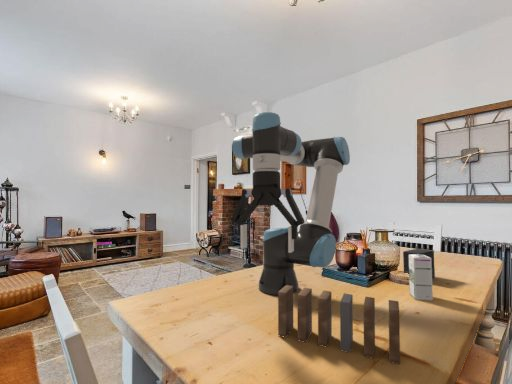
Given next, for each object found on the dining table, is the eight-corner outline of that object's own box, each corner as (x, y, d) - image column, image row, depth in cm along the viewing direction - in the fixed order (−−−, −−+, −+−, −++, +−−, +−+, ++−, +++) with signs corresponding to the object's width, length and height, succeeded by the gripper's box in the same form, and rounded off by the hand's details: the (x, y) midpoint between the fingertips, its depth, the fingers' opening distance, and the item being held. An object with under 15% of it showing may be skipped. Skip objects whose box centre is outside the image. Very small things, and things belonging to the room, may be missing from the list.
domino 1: (278, 336, 69) (278, 291, 69) (286, 326, 74) (286, 285, 74) (285, 337, 68) (285, 292, 68) (293, 327, 73) (293, 286, 73)
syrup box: (433, 301, 92) (432, 257, 93) (414, 299, 94) (413, 257, 94) (426, 295, 98) (426, 254, 98) (408, 294, 99) (408, 253, 100)
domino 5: (363, 356, 60) (363, 305, 60) (365, 343, 65) (365, 296, 66) (373, 358, 59) (373, 306, 59) (375, 345, 64) (374, 297, 65)
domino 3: (318, 345, 64) (318, 298, 65) (323, 334, 70) (323, 290, 70) (326, 347, 63) (326, 299, 64) (331, 335, 69) (331, 291, 69)
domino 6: (389, 362, 58) (388, 309, 58) (389, 348, 63) (388, 299, 63) (400, 364, 57) (399, 310, 57) (399, 350, 62) (398, 301, 63)
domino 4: (340, 350, 62) (340, 301, 62) (344, 338, 68) (344, 293, 68) (349, 352, 61) (349, 302, 62) (352, 340, 67) (352, 294, 67)
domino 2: (297, 340, 66) (297, 294, 67) (304, 330, 72) (304, 287, 72) (305, 342, 66) (305, 296, 66) (311, 331, 71) (311, 288, 71)
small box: (418, 274, 126) (418, 248, 126) (435, 277, 120) (434, 250, 120) (403, 278, 119) (402, 250, 119) (419, 282, 113) (419, 253, 113)
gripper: (219, 171, 76) (219, 249, 75) (309, 167, 66) (310, 256, 66) (232, 173, 83) (232, 244, 82) (315, 170, 73) (315, 250, 73)
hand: (266, 250), depth 74 cm, fingers open, 13 cm apart
